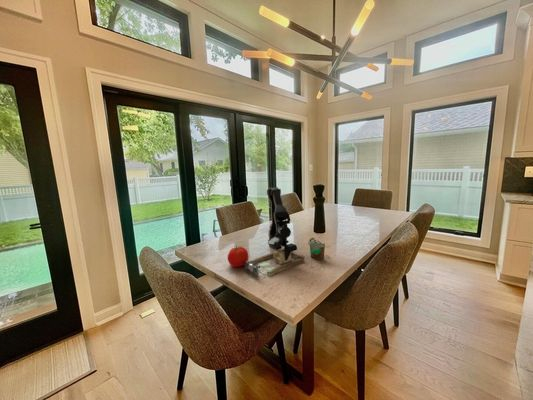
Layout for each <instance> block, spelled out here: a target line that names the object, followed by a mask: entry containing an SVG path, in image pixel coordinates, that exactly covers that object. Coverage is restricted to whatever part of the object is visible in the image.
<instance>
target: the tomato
mask: <svg viewBox="0 0 533 400" xmlns="http://www.w3.org/2000/svg"><path fill="white" fill-rule="evenodd" d="M247 260H248V261H249V254H248V250H247V249H246V248H245V247H243V246H237V245H236V246H235V247H232V248H231V249H230V250H229V252H228V255H227V263H229V264H230V266H231V267H233V268H239V267H243V266H245V261H247Z"/></svg>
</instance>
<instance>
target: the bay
mask: <svg viewBox="0 0 533 400" xmlns="http://www.w3.org/2000/svg"><path fill="white" fill-rule="evenodd" d="M272 258H274V254H273V252H271V253H268V254H265V255H262V256H258V257H256V258H253V259H250V260H249V262H250V263H252V264H253V265H255V264H256V265H258V266H260V268H263V269H264V270H266V272H264V271H262V270H260V269H259V270H258V272H259V273H262V274H263V275H264V276H265V275H267V276H268V277H271V276H273V275H276V274H278V273H280V272H283V271H285V270H288V269H290V268H293V267H294V266H297V265H300V264H302V263H304V262H305V256H304V255H301V254H299V253H297V252H295V251H292V252H291V259H292V258H293V259H294V260H291V261H288V262H286V263H283V264H281V265H280V266H278V267H277V266H276V267H275V266H274V265H271V264H270V263H268V262H266V260H269V259H272Z"/></svg>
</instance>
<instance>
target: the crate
mask: <svg viewBox="0 0 533 400" xmlns="http://www.w3.org/2000/svg"><path fill="white" fill-rule="evenodd" d="M282 250H285V249H284V247H281V249H278V250H275V249H274V250H273V252H272V253H273V254H274V257H273V262H275V263H277V264H278V265H284V264H287V263H289V262H292V257H291V253H290V255H289V257H288V259H287V260H285V254H284V251H282Z"/></svg>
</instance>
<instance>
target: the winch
mask: <svg viewBox="0 0 533 400" xmlns="http://www.w3.org/2000/svg"><path fill="white" fill-rule="evenodd" d="M260 269H261V266H259V265H258V264H256V265H255V264H252V263H250V260H249V259H248V260H247V261H245V265H244V270H245V271H249V272H251V273H253V276H254V277H255V278H257V277H258V276H259V271H258V270H260Z"/></svg>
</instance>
